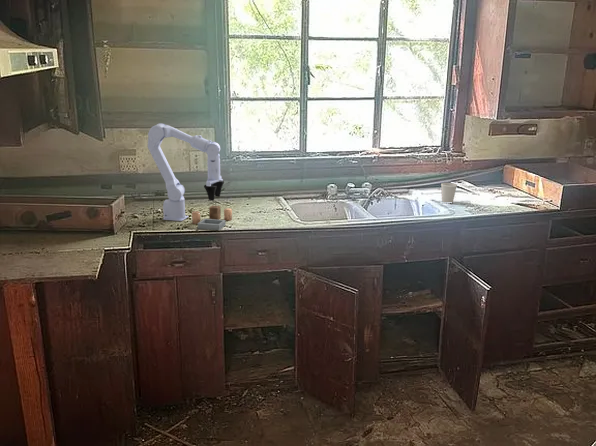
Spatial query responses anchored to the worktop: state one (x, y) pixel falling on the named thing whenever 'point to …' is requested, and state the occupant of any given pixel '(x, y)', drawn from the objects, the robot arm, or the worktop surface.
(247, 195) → the worktop surface
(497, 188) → the worktop surface
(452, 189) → the dixie cup
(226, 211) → the tan cylinder
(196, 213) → the tan cylinder
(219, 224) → the tray
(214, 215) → the walnut block
